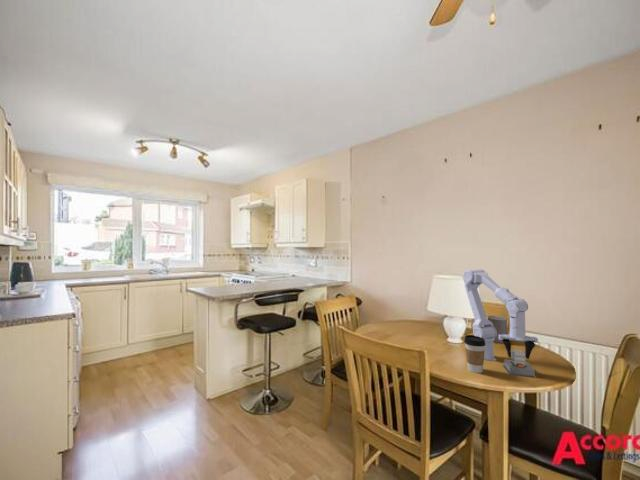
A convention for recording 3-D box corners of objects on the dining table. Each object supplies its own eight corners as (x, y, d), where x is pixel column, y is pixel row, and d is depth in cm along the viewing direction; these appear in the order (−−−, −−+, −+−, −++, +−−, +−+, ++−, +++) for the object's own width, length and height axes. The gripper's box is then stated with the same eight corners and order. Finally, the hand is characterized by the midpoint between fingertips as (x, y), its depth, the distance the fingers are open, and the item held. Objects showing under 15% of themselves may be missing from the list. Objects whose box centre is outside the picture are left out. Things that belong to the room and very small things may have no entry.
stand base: (509, 375, 124) (509, 365, 124) (502, 366, 133) (502, 357, 133) (536, 378, 121) (536, 368, 121) (527, 368, 130) (527, 359, 130)
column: (514, 367, 125) (514, 352, 126) (511, 363, 129) (511, 349, 130) (525, 368, 124) (525, 353, 124) (522, 364, 128) (521, 350, 128)
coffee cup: (467, 365, 134) (466, 333, 135) (487, 370, 129) (486, 336, 129) (462, 371, 128) (462, 337, 128) (484, 376, 123) (483, 341, 123)
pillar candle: (484, 339, 170) (484, 314, 170) (495, 337, 174) (494, 312, 174) (500, 344, 161) (500, 318, 161) (511, 342, 166) (511, 316, 166)
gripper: (501, 327, 126) (502, 358, 125) (540, 330, 121) (541, 362, 121) (496, 323, 132) (497, 353, 132) (533, 325, 128) (534, 356, 128)
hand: (518, 357), depth 127 cm, fingers open, 6 cm apart
